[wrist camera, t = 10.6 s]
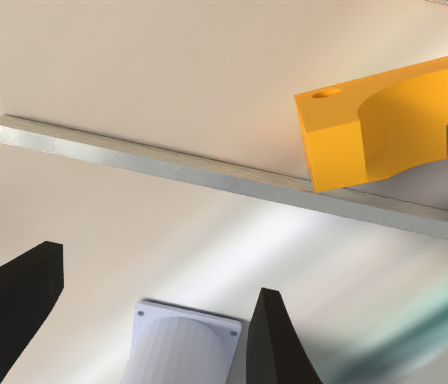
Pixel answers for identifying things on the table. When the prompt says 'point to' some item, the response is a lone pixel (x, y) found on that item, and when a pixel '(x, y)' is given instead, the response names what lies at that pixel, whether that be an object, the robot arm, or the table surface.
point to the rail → (223, 175)
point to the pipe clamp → (375, 125)
